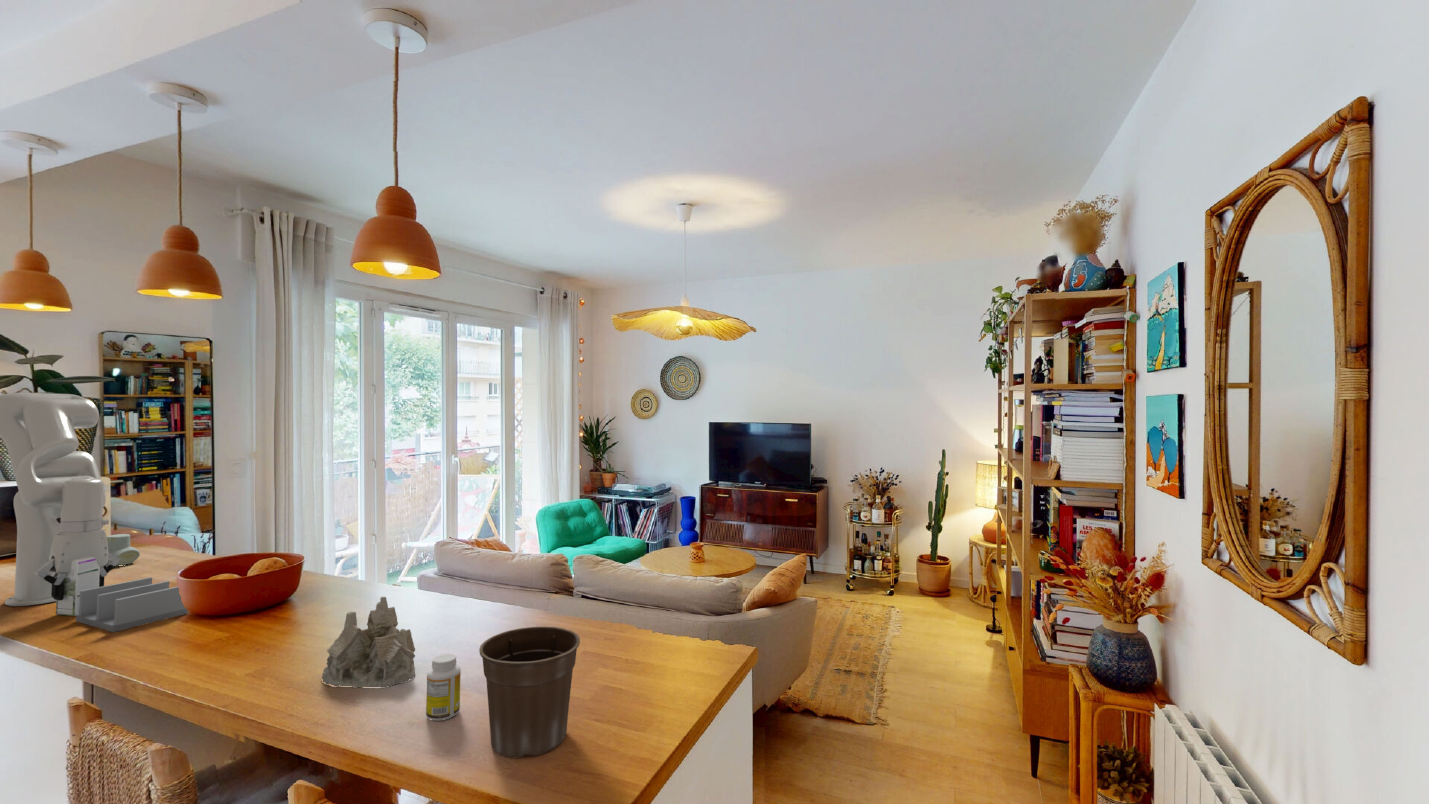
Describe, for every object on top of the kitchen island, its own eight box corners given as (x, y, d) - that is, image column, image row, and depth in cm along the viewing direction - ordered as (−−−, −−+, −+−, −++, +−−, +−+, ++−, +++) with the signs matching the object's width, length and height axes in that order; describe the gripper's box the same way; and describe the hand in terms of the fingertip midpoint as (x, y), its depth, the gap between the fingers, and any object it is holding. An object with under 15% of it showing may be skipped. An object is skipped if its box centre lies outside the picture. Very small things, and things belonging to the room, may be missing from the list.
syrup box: (99, 609, 158) (102, 554, 159) (73, 616, 152) (76, 559, 153) (80, 608, 159) (83, 553, 159) (53, 615, 153) (56, 558, 153)
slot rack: (75, 621, 149) (77, 591, 149) (151, 604, 163) (152, 576, 163) (113, 632, 143) (114, 600, 143) (188, 613, 157) (189, 584, 157)
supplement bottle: (450, 704, 112) (452, 649, 112) (465, 714, 108) (467, 657, 109) (420, 715, 108) (421, 658, 108) (434, 726, 104) (436, 667, 104)
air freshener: (123, 560, 207) (124, 531, 208) (144, 562, 206) (146, 532, 207) (87, 568, 196) (88, 538, 197) (109, 570, 196) (111, 539, 196)
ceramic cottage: (318, 671, 124) (325, 599, 124) (405, 656, 134) (412, 590, 134) (326, 706, 112) (334, 626, 112) (421, 686, 122) (428, 613, 122)
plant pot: (453, 753, 96) (457, 651, 97) (519, 708, 111) (522, 620, 112) (537, 777, 90) (540, 669, 91) (595, 726, 106) (598, 633, 106)
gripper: (116, 520, 166) (113, 585, 165) (26, 531, 150) (22, 603, 149) (131, 522, 163) (128, 588, 162) (41, 533, 147) (37, 607, 146)
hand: (78, 595), depth 156 cm, fingers closed on syrup box, 6 cm apart
